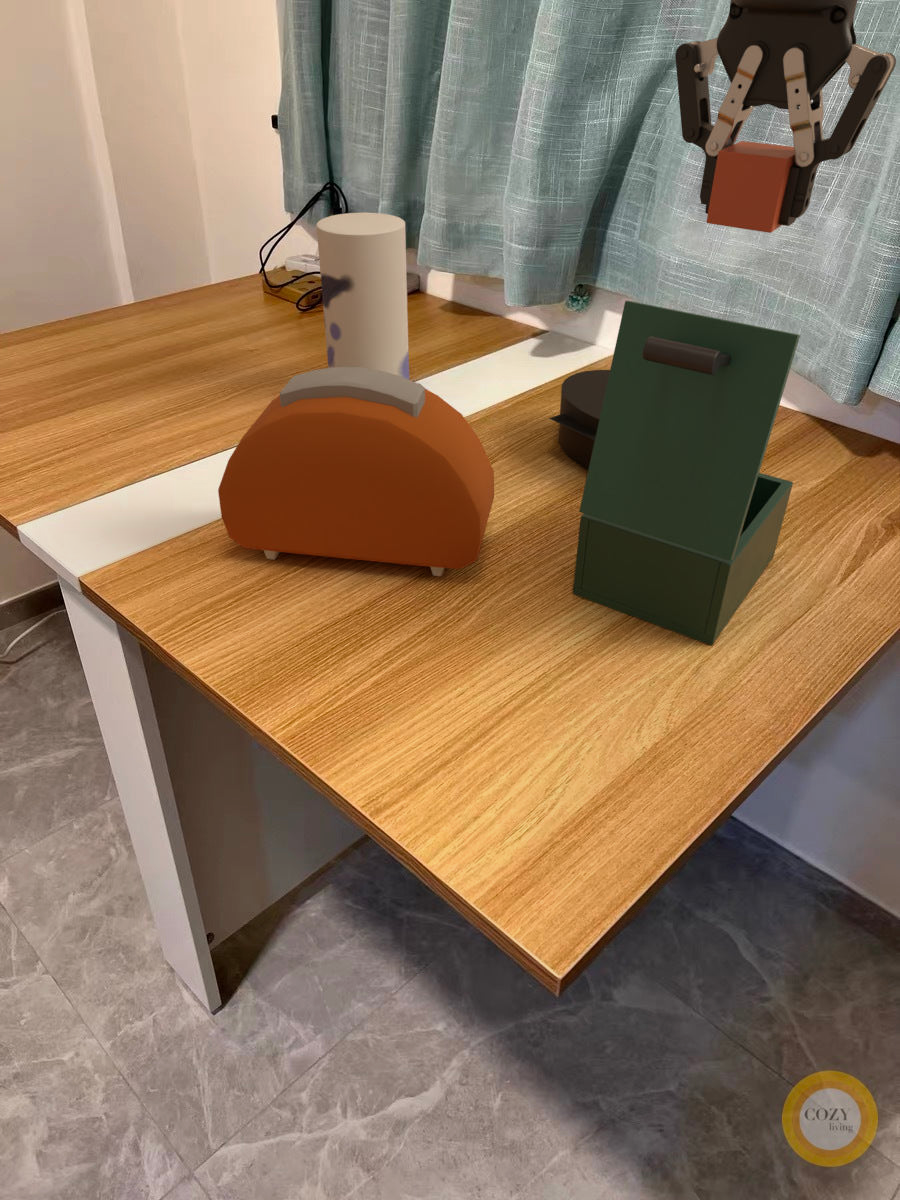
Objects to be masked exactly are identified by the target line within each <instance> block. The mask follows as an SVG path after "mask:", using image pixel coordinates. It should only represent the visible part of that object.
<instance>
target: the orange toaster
mask: <svg viewBox="0 0 900 1200" xmlns="http://www.w3.org/2000/svg"><path fill="white" fill-rule="evenodd" d="M278 394H279V395H278V396H277V397H275V398H273V399H272V400H271V401H270V403H269V404H267V406H266V408H265V409H264V410H263V411H262V412H261V414H260V415H258V417H257V418H256V419H255V421H253V424H252V425H251V426H250V427H249V428H248V430H247V431H246V432H245V433H244V435H243V436H242V437H241V439H240V440H239V442H238V444H237V445H236V447H235V449H234V450H233V452H232V454H231V455H230V457H228V460H227V464H226V466H225V469H224V472H223V475H222V478H221V480H220V482H219V486H218V489H217V494H218V499H219V500H218V501H219V508H220V516H221V520H222V522H223V524H224V528H225V530H226V532H227V535H228V537H229V538H230V539H231V540H232V541H234V542H236V543H237V544H238V545H240V546H241V547H242V548H244V549H245V548H246V549H251V550H252V549H254V550H260V551H263V552H264V555H265V557H266V559H267V560H273V561H275V560H276V559H277V557H278V555H279V554H280V553H287V554H289V553H290V554H298V555H308V556H317V557H318V556H319V557H329V558H339V559H348V560H359V561H369V562H378V563H390V564H398V565H399V564H400V565H409V566H419V567H420V566H421V567H427V568H430V571H431V574H432V576H434V577H442V576H443V574H444V571H445V569H456V570H457V569H458V570H461V569H462V568H464V567H467V566H469V565H470V564H472V563H474V562H476V561H477V560H478V558H479V555H480V551H481V546H482V543H483V540H484V536H485V532H486V528H487V525H488V521H489V518H490V514H491V510H492V506H493V502H494V499H495V470H494V468H493V466H492V463H491V461H490V460H489V457H488V455H487V452H486V450H485V448H484V446H483V444H482V442H481V439H480V437H479V436H478V435H477V433H476V432H475V431H474V429H473V428H472V426H471V425H470V424H469V422H468V421H467V419H466V418H465V417H464V415H463V414H462V413H461V412H459V411H458V410H457V409H456V408H455V407H453V406H452V405H450V404H449V402H447V401H446V400H445V399H443V398H442V397H440V396H439V395H437V394H436V393H434V392H432V391H430V390H429V389H427V388H426V387H425V386H424V385H422V384H420V383H418V382H416V381H414V380H412V379H410V378H409V379H406V378H404V377H401V376H398V375H394V374H391V373H387V372H384V371H380V370H375V369H368V368H361V367H332V368H329V367H326V368H320V369H313V370H310V371H306V372H303V373H300V374H296V375H293V376H292V377H291V378H290V379H289V380H288V381H287V383H286V384H285V385H284V387H283V388H282V389H281V390H280V391H279V393H278Z"/></svg>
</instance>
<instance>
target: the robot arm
mask: <svg viewBox="0 0 900 1200" xmlns="http://www.w3.org/2000/svg"><path fill="white" fill-rule="evenodd" d="M858 1H859V0H730V1H729V11H728V16H727V19H726V20H725V23H724V24H723V26H722V28H721V29H720V31H719V33H718V35H717V37H715V38H712V39H707V40H704V41H700V40H697V41H691V42H686V43H682V44H679V46H678V47H677V48H676V51H675V54H674V55H675V57H674V58H675V68H676V79H677V80H676V81H677V89H678V102H679V103H678V104H679V113H680V125H681V135H682V139H683V141H684V142H685V143H687V144H693V145H695V146H697V147H699V148H700V149H701V150H702V151H703V152H704V155H705V162H704V168H703V174H702V180H701V185H700V186H701V187H700V192H699V200H700V204H701V205H705V209H704V211H705V214H706V215H708V210H709V204H710V198H711V192H712V187H713V181H714V175H715V169H716V163H717V157H718V152H719V151H720V150H722V149H724V148H727V147H729V146H731V145H734V144H736V141H737V139H738V137H739V135H740V133H741V132H742V131H741V130H742V129H743V127H744V125H745V123H746V121H747V120H748V118H749V117H750V116H751V114H752V112H753V110H754V109H755V107H760V106H765V105H770V106H772V107H774V108H777V109H780V110H788V120H789V121H788V122H789V128H790V130H791V132H792V140H793V147H794V154H795V164H794V165H793V166H791V167H790V170H789V175H788V179H787V184H786V189H785V193H784V198H783V202H782V207H781V212H780V216H779V222H778V223H779V225H782V226H785V227H790V226H791V225H793V224H794V223H795V222H796V220H797V219H799V218H800V217H801V216H803V215H804V214H805V213H806V211H807V210H808V208H809V207H810V202H811V197H812V194H813V190H814V189H813V188H814V185H815V180H816V176H817V171H818V168H819V166H820V164H821V163H822V162H826V161H830V160H834V161H835V160H838V159H840V158H842V157H843V156H844V155H847V154H848V153H849V152H851V151H852V150H853V147H854V146H855V144H856V142H857V140H858V139H859V137H860V134H861V133H862V131H863V129H864V127H865V126H866V124H867V121H868V119H869V118H870V115H871V114H872V111H873V109H874V108H875V106H876V104H877V102H878V100H879V98H880V96H881V94H882V93H883V90H884V89H885V87H886V85H887V83H888V81H889V80H890V77H891V75H892V73H893V72H894V70H895V68H896V65H897V57H896V56H895V55H894V54H893V53H891V52H884V53H883V52H882V53H880V52H877V51H875V50H872V49H870V48H868V47H865V46H862V45H861V44H857V35H856V32H855V26H854V25H855V24H854V22H855V21H854V19H855V12H856V9H857V5H858ZM718 57H719V59H720V61H721V63H722V66H723V68H724V70H725V73H726V75H727V77H728V80H729V82H730V86H729V88H728V91H727V92H726V94H725V97H724V99H723V101H722V103H721V105H720V107H719V110H718V113H717V119H716V121H715V123H714V125H713V124H712V115H711V114H712V113H711V99H710V88H709V87H710V86H709V76H711V75H712V74H713V72H714V71H715V67H716V66H715V65H716V60H717V58H718ZM846 63H847V64H848V66H849V69H850V71H849V76H848V78H847V82H848V83H847V84H848V86H849V88H851V90H853V91H852V94H851V95H850V97H849V99H848V102H847V103H846V105H845V107H844V109H843V111H842V113H841V115H840V117H839V119H838V121H837V123H836V125H835V127H834V129H833V130H832V133H831V135H830V137H827V138H824V130H823V129H824V128H823V120H824V116H825V114H824V113H825V111H824V98H823V89H824V87H826V85H827V84H828V83H829V82H830V81H831V80H832V79H833V78H834V76H836V74H838V72H839V71H840V70H841V69H842V68H843V67H844V66H845V65H846Z"/></svg>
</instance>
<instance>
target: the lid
mask: <svg viewBox="0 0 900 1200" xmlns="http://www.w3.org/2000/svg"><path fill="white" fill-rule="evenodd" d="M800 337H801V334H799V333H793V332H789V331H783V330H780V329H779V330H778V329H773V328H768V327H762V326H758V325H753V324H749V323H744V322H743V323H742V322H737V321H733V320H728V319H724V318H723V319H722V318H718V317H714V316H713V317H712V316H708V315H703V314H697V313H693V312H689V311H683V310H678V309H672V308H667V307H663V306H659V305H658V306H657V305H652V304H647V303H642V302H637V301H633V300H625V301H624V305H623V309H622V314H621V318H620V324H619V328H618V332H617V337H616V341H615V345H614V351H613V354H612V355H613V356H612V360H611V363H610V364H611V365H610V368H609V370H610V373H609V378H608V382H607V387H606V391H605V396H604V401H603V405H602V410H601V414H600V419H599V423H598V428H597V433H596V437H595V442H594V446H593V451H592V455H591V460H590V465H589V469H588V470H587V474H586V479H585V483H584V488H583V492H582V498H581V501H580V507H579V510H578V512H579V513H581V514H587V515H590V516H593V517H596V518H599V519H602V520H605V521H608V522H611V523H614V524H618V525H621V526H624V527H627V528H630V529H633V530H636V531H639V532H642V533H645V534H648V535H651V536H655V537H658V538H661V539H664V540H667V541H670V542H673V543H676V544H679V545H682V546H685V547H689V548H692V549H695V550H698V551H701V552H704V553H707V554H710V555H713V556H716V557H719V558H722V559H726V560H729V561H731V560H732V559H733V558H734V555H735V552H736V548H737V545H738V542H739V538H740V535H741V532H742V528H743V525H744V522H745V518H746V515H747V512H748V508H749V505H750V502H751V498H752V495H753V492H754V488H755V485H756V481H757V478H758V475H759V473H760V471H761V467H762V464H763V461H764V459H765V454H766V452H767V448H768V444H769V442H770V438H771V434H772V430H773V428H774V425H775V422H776V418H777V416H778V415H777V414H778V411H779V409H780V404H781V401H782V398H783V394H784V391H785V388H786V384H787V382H788V378H789V374H790V371H791V368H792V364H793V360H794V359H795V358H794V357H795V354H796V351H797V348H798V344H799V341H800Z"/></svg>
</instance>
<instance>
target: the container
mask: <svg viewBox="0 0 900 1200" xmlns="http://www.w3.org/2000/svg"><path fill="white" fill-rule="evenodd" d="M316 237H317V247H318V248H317V250H318V261H319V272H320V283H321V297H322V308H323V309H322V310H323V321H324V333H325V345H326V355H327V357H326V358H327V368H332V367H361V368H368V369H375V370H380V371H384V372H387V373H391V374H394V375H398V376H401V377H404V378H406V379H409V380H410V356H409V355H410V353H409V325H408V324H409V319H408V318H409V316H408V315H409V313H408V282H407V281H408V280H407V279H408V278H407V244H406V243H407V242H406V241H407V240H406V221H405V220H404V219H403V218H401V217H400V216H397V215H392V214H387V213H380V212H347V213H339V214H334V215H330V216H327V217H324V218H321V219H320V220H318V222H316Z"/></svg>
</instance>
